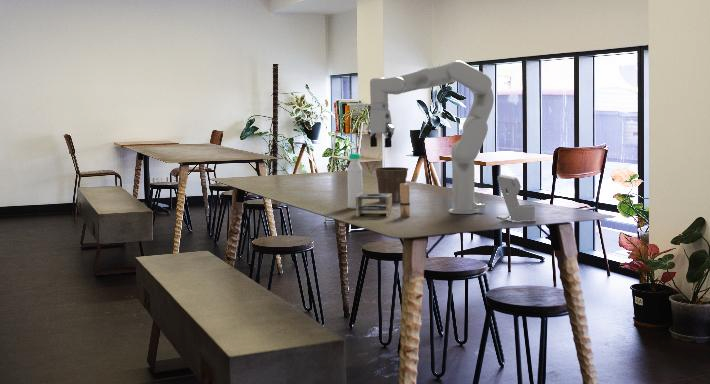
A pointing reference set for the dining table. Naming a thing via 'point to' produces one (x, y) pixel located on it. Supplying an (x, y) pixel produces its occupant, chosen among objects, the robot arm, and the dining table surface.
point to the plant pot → (391, 181)
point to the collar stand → (361, 207)
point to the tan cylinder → (404, 200)
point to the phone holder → (514, 200)
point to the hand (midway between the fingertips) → (380, 147)
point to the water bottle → (354, 180)
